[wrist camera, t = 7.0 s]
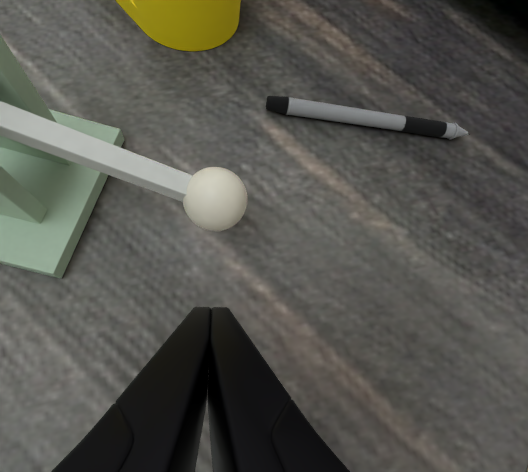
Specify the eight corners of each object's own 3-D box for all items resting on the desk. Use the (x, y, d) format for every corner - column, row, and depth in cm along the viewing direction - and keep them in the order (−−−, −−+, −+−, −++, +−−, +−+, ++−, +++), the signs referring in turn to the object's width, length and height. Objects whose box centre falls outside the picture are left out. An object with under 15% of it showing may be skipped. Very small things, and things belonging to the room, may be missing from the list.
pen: (265, 102, 26) (268, 89, 25) (464, 132, 28) (475, 121, 27) (264, 115, 26) (267, 103, 25) (466, 145, 28) (478, 135, 27)
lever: (242, 195, 20) (262, 170, 17) (228, 246, 19) (247, 229, 16) (-61, 77, 16) (-103, 19, 13) (-104, 133, 15) (-160, 83, 12)
